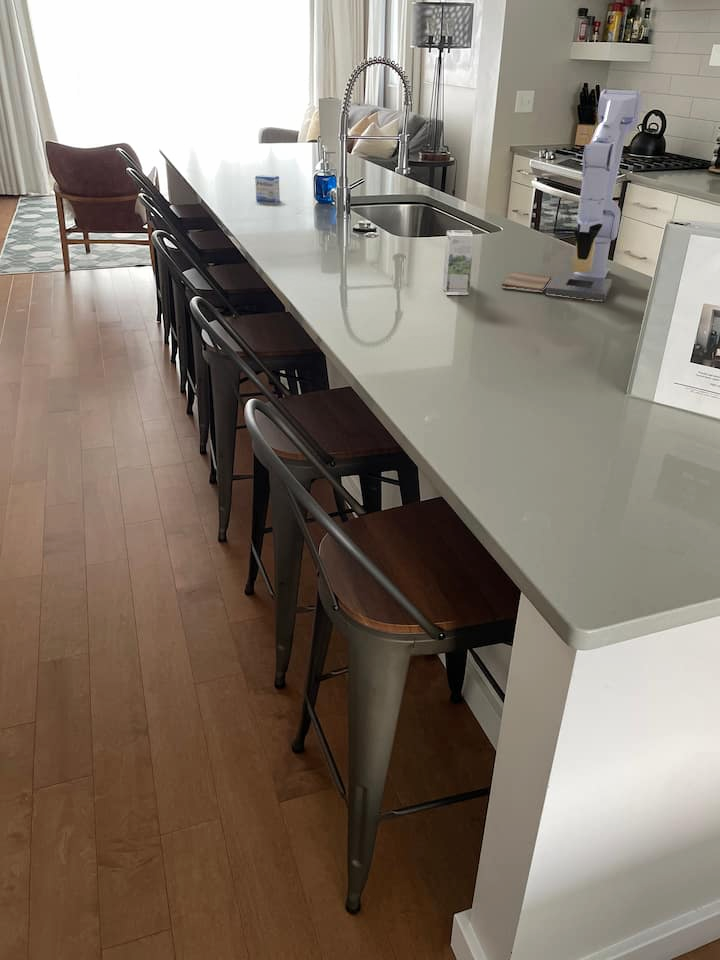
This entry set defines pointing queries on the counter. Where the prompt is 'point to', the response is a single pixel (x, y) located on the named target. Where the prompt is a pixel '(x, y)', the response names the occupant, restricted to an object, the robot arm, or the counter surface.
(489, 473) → the counter surface
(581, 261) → the brass peg
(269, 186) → the medicine box
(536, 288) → the walnut board
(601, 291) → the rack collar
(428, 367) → the counter surface
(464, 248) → the syrup box
